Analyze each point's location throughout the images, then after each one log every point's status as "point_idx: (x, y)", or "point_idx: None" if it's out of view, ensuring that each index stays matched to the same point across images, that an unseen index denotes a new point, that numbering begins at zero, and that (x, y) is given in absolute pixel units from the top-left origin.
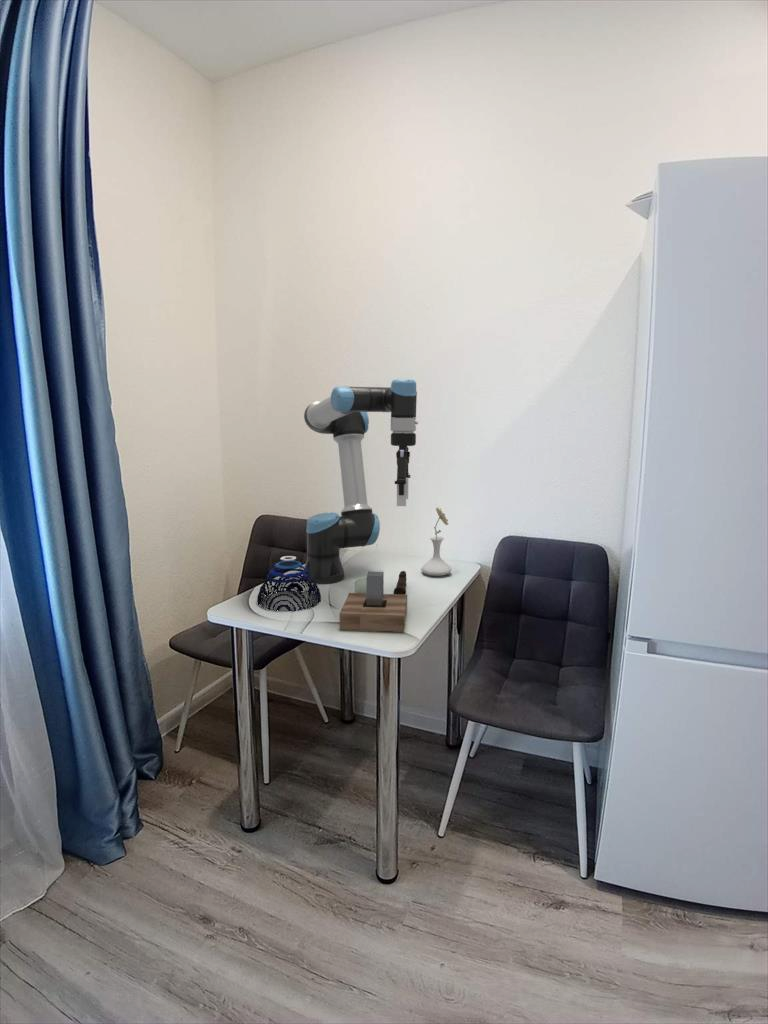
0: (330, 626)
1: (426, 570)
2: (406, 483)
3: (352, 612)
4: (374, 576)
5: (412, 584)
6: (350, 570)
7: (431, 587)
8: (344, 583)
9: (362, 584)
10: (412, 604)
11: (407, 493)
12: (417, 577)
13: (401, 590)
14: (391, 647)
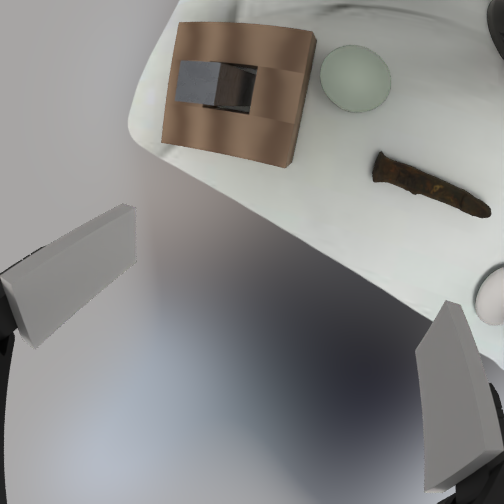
0: (215, 11)
1: (498, 274)
2: (435, 443)
3: (180, 44)
4: (178, 81)
5: (459, 221)
6: None
7: (428, 255)
8: (492, 67)
9: (328, 61)
10: (327, 181)
11: (422, 378)
12: (496, 247)
13: (374, 170)
14: (130, 116)
